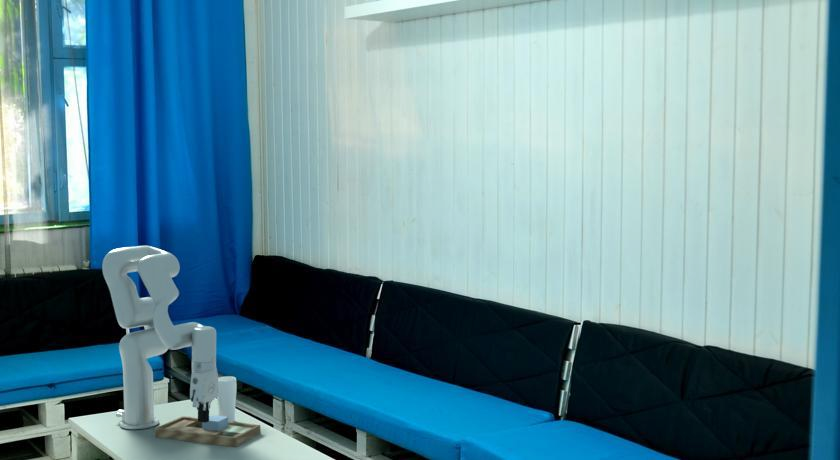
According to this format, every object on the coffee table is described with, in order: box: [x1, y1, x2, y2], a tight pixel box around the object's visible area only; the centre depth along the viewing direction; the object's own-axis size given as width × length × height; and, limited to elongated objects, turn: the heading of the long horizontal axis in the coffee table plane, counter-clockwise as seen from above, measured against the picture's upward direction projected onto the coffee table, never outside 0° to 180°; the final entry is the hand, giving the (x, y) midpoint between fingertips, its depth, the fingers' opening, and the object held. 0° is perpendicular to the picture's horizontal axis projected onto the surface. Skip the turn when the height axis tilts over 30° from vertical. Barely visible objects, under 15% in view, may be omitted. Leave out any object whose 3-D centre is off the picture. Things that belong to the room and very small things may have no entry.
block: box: [202, 414, 228, 431], centre depth 304 cm, size 6×6×3 cm
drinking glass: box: [216, 375, 237, 422], centre depth 316 cm, size 7×7×15 cm
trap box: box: [154, 415, 261, 448], centre depth 302 cm, size 30×15×3 cm, turn 69°
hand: (203, 421), depth 298 cm, fingers closed
